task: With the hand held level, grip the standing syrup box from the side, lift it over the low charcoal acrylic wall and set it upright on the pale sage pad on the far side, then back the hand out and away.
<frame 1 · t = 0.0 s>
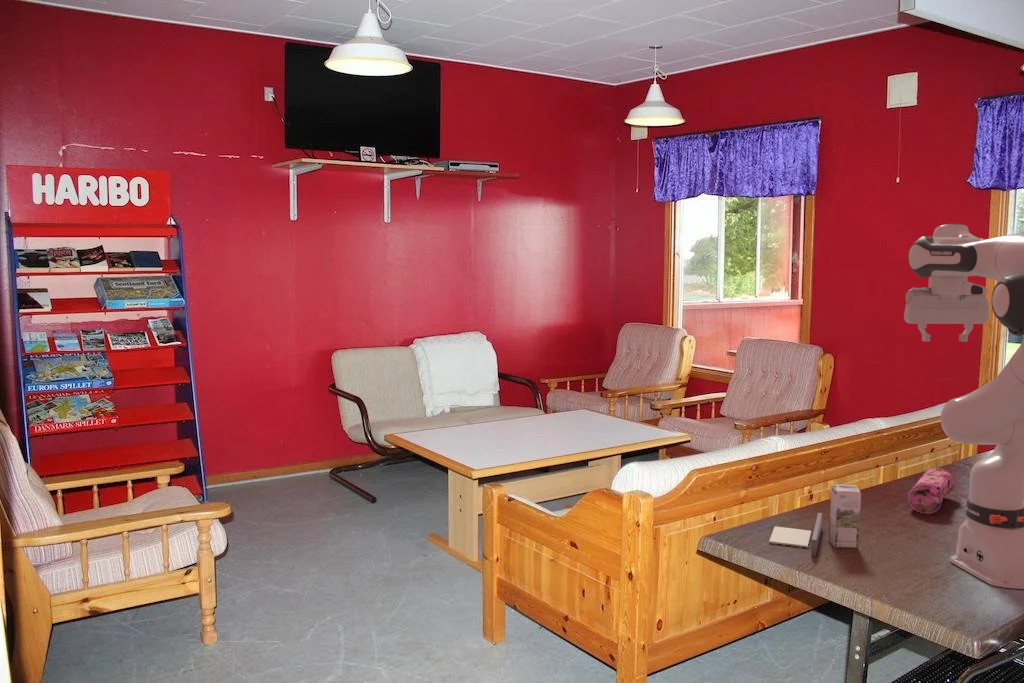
hand: (944, 341, 225), 48 cm above the table, tool pointing down, fingers open, 8 cm apart
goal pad: (790, 538, 217), on the table
low wall: (816, 541, 214), on the table
pencil case: (930, 505, 244), on the table
syrup box: (843, 545, 212), on the table
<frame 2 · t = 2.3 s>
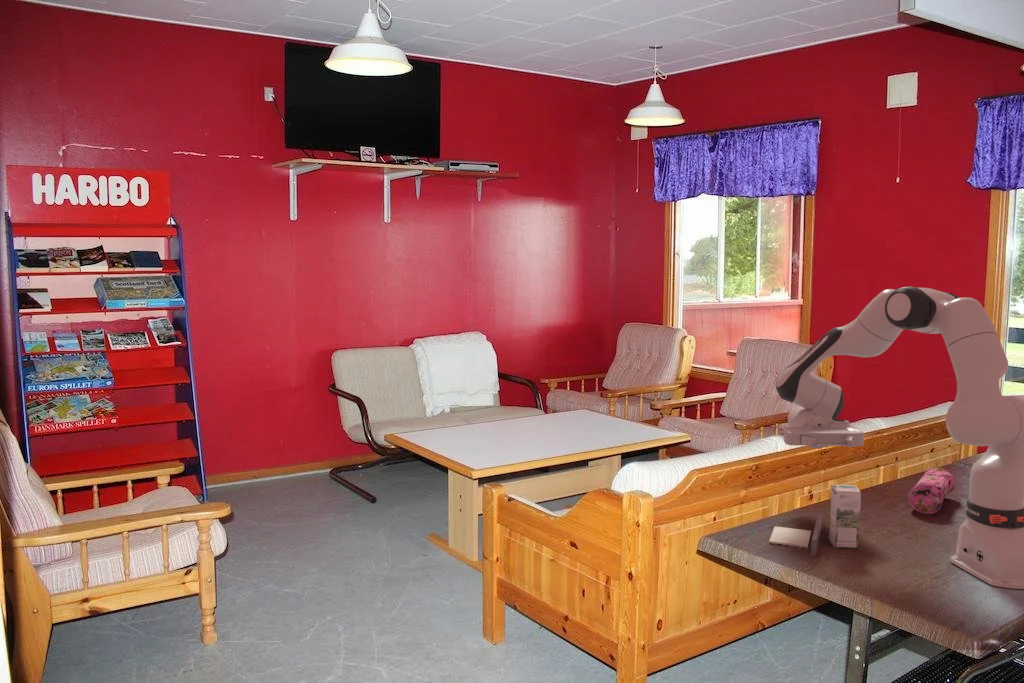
hand: (831, 443, 222), 22 cm above the table, tool horizontal, fingers open, 8 cm apart
nothing on the table moved.
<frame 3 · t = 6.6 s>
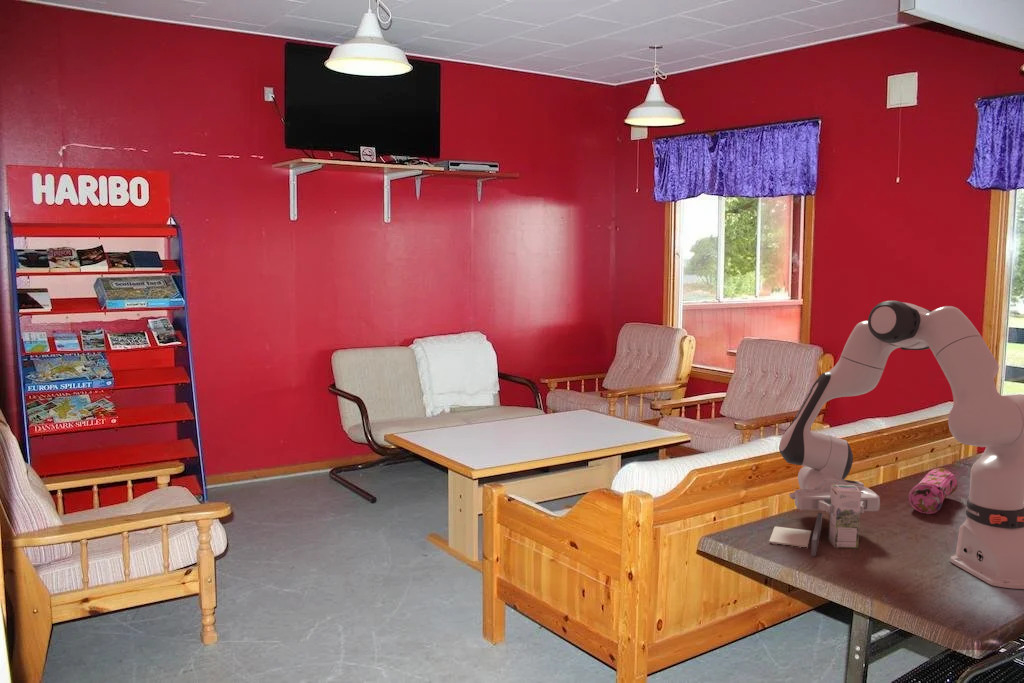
hand: (845, 510, 210), 9 cm above the table, tool horizontal, fingers closed on syrup box, 6 cm apart
syrup box: (843, 545, 212), on the table, touching gripper
everything else where it was.
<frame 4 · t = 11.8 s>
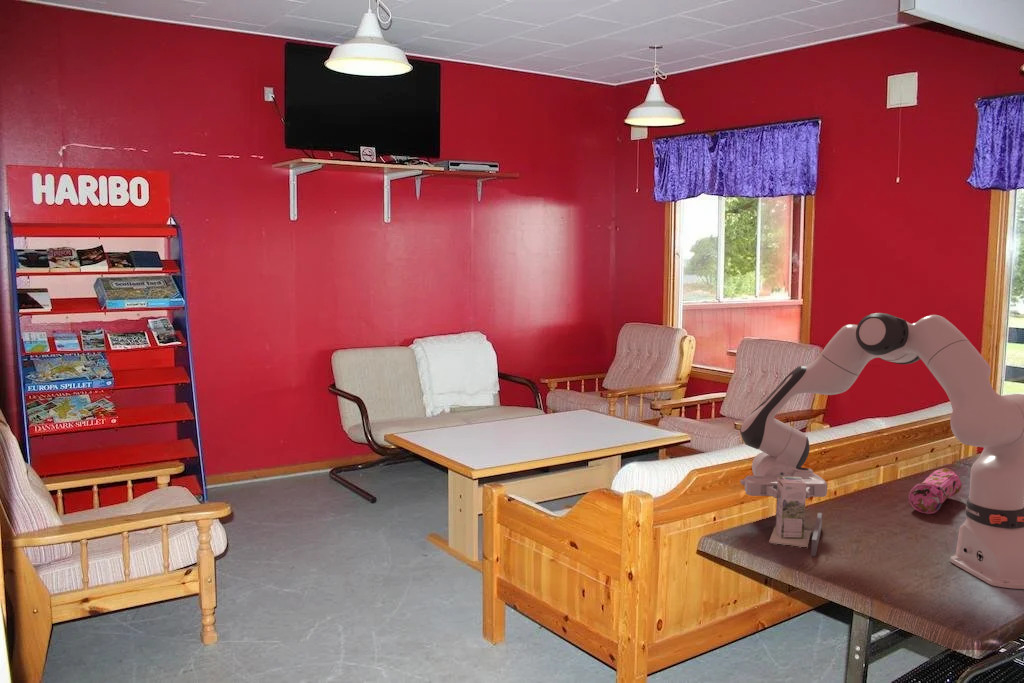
hand: (792, 495, 215), 11 cm above the table, tool horizontal, fingers closed on syrup box, 5 cm apart
syrup box: (789, 535, 217), resting on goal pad, touching gripper
when the fingers open (11 cm above the table, at t = 12.2 s): syrup box stays where it is, resting on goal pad.
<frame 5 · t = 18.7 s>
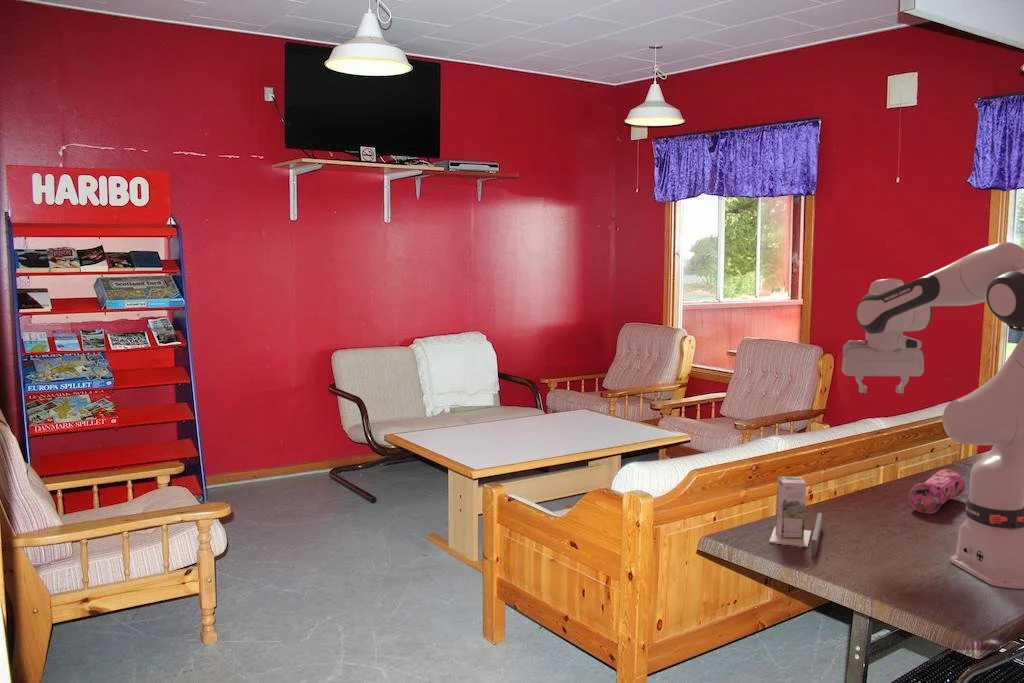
hand: (881, 392, 228), 34 cm above the table, tool pointing down, fingers open, 8 cm apart
syrup box: (789, 536, 217), resting on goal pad
at the end: syrup box inside the target area on the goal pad (0.4 cm from its centre), point 0.4 cm above the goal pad's base; syrup box tilted 0°; the gripper is holding nothing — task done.
